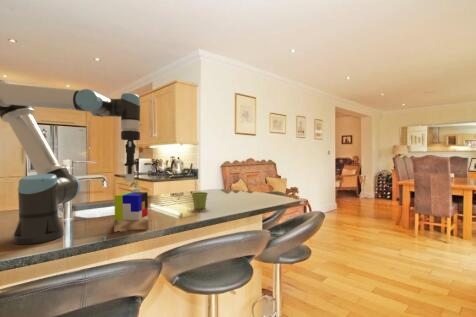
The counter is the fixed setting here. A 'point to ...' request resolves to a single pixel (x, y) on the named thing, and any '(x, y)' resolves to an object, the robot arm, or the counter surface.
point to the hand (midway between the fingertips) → (130, 180)
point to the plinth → (131, 224)
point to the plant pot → (199, 200)
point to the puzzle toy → (131, 205)
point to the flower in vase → (135, 186)
